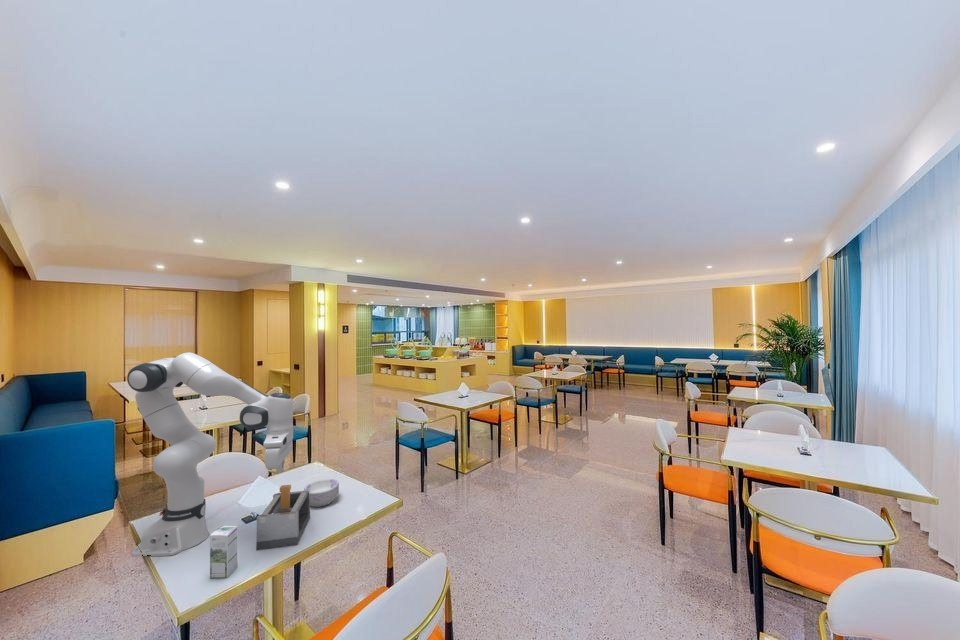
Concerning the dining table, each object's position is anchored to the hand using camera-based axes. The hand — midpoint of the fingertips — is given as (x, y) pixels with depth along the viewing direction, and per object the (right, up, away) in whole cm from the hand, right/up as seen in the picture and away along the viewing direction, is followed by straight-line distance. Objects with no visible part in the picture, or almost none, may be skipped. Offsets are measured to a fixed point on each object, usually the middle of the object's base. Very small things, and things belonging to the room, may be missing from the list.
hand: (280, 472), depth 138 cm
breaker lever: (-2, -18, +7) cm, 19 cm away
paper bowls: (+2, -28, +32) cm, 42 cm away
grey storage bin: (-1, -27, +6) cm, 28 cm away
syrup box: (-9, -27, -17) cm, 33 cm away
